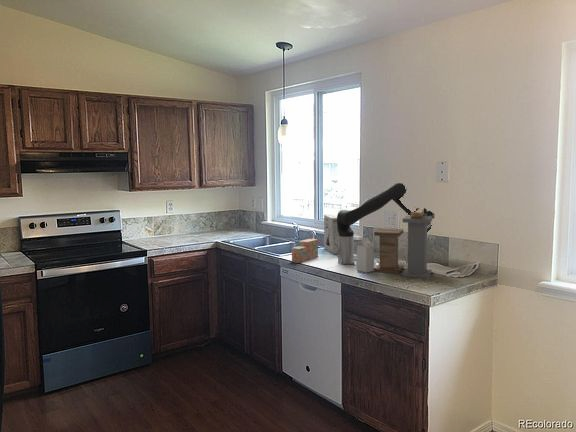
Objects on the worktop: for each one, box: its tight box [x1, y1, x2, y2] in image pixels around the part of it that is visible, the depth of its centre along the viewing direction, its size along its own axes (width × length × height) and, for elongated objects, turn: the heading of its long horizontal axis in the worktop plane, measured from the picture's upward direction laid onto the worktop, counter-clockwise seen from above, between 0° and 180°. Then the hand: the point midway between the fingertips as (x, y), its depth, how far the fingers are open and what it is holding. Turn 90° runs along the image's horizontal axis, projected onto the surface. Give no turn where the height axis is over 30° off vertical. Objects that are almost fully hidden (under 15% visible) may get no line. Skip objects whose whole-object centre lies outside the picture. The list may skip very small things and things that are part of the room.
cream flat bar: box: [411, 207, 424, 219], centre depth 260 cm, size 23×6×3 cm, turn 156°
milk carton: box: [356, 237, 375, 273], centre depth 268 cm, size 7×7×19 cm
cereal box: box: [323, 213, 339, 255], centre depth 327 cm, size 22×8×25 cm, turn 10°
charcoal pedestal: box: [401, 215, 433, 279], centre depth 256 cm, size 14×14×32 cm
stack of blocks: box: [291, 238, 319, 264], centre depth 303 cm, size 21×6×12 cm, turn 143°
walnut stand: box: [373, 228, 404, 274], centre depth 269 cm, size 14×14×23 cm
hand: (421, 209), depth 266 cm, fingers closed on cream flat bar, 3 cm apart
